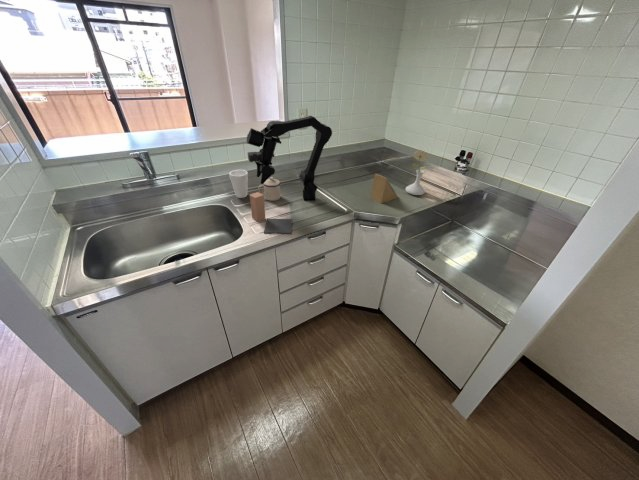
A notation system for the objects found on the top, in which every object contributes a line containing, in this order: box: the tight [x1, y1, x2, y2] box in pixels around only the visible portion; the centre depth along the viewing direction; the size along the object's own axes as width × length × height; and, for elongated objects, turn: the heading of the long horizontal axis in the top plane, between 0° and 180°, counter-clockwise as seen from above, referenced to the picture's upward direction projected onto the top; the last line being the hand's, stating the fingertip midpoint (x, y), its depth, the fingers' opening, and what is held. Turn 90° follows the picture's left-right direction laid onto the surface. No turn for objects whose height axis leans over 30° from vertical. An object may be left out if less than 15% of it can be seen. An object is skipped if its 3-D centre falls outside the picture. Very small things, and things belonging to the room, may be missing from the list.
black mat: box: [263, 218, 293, 235], centre depth 121 cm, size 12×12×1 cm
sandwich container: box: [370, 173, 399, 204], centre depth 148 cm, size 9×15×15 cm, turn 127°
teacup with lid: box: [257, 176, 281, 202], centre depth 142 cm, size 12×9×12 cm
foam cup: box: [228, 169, 249, 199], centre depth 142 cm, size 10×9×13 cm
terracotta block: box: [249, 191, 266, 222], centre depth 123 cm, size 4×4×12 cm
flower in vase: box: [405, 149, 429, 196], centre depth 153 cm, size 13×11×25 cm
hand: (259, 180), depth 130 cm, fingers open, 9 cm apart
